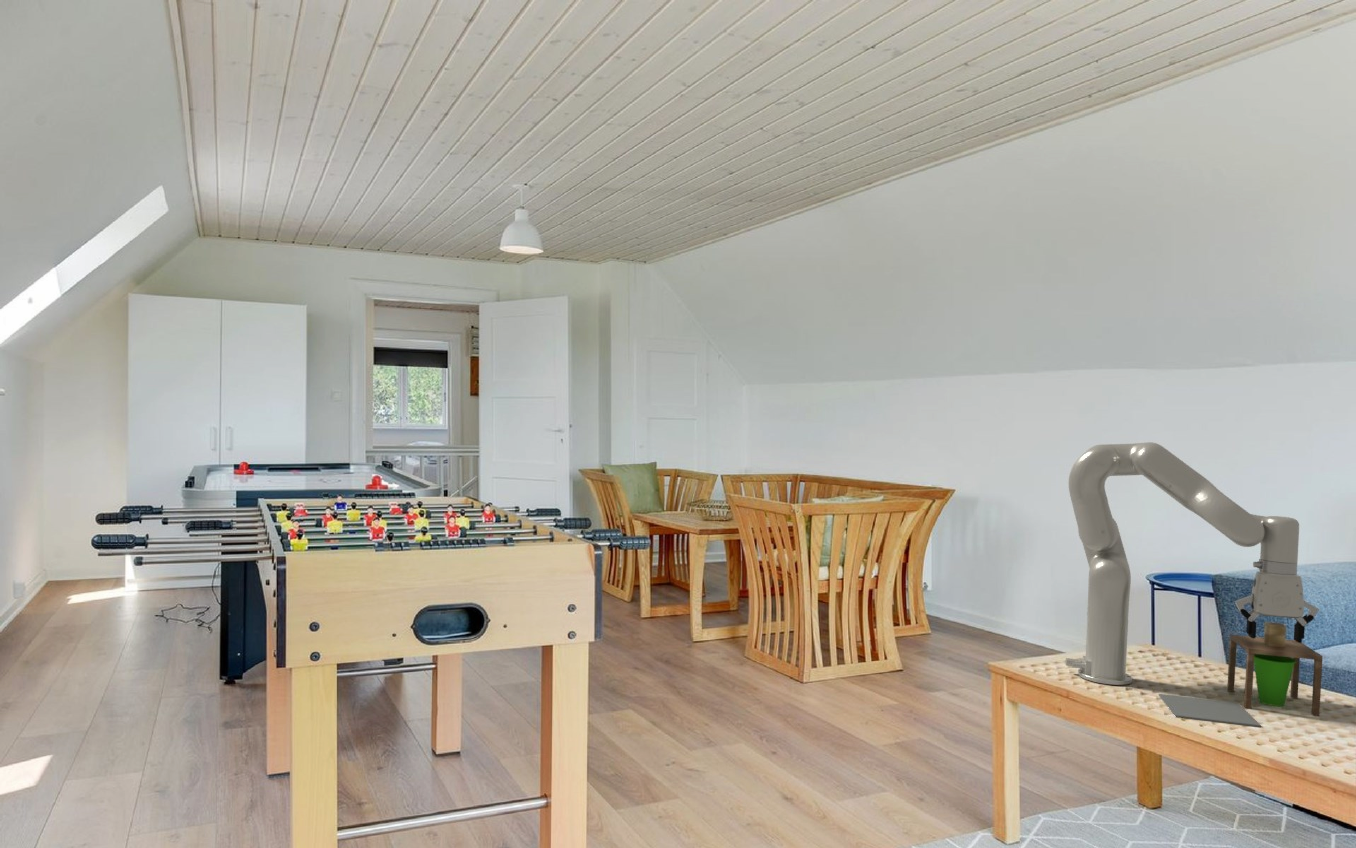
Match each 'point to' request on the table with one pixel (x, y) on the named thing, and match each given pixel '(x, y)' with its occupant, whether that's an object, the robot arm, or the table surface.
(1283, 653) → the cover
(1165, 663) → the table surface
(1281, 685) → the cup
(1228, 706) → the mat
